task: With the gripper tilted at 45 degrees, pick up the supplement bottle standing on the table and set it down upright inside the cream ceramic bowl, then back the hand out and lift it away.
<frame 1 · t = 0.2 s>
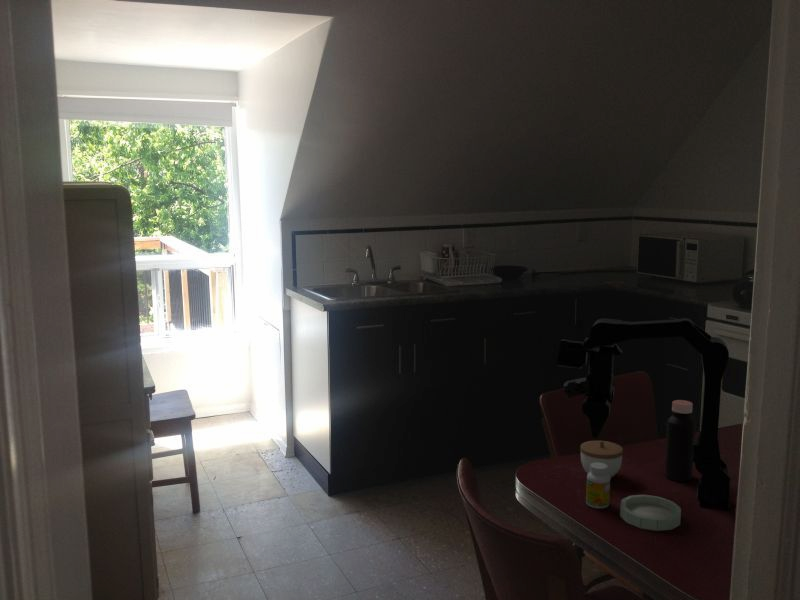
hand: (596, 431, 184), 15 cm above the table, tool pointing down, fingers open, 9 cm apart
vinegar: (678, 477, 192), on the table
bowl: (649, 517, 170), on the table
lidded jar: (600, 476, 194), on the table
supplement bottle: (597, 505, 177), on the table
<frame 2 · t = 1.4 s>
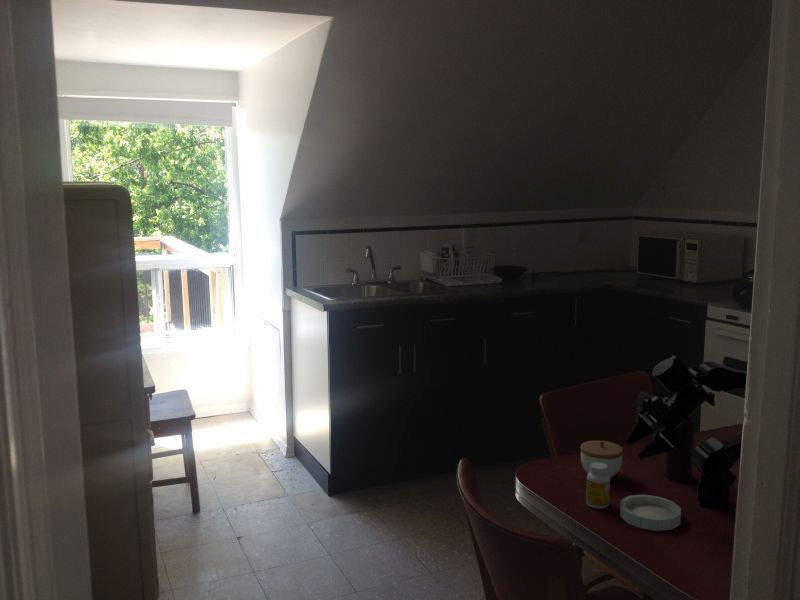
hand: (632, 450, 174), 13 cm above the table, tool tilted 45°, fingers open, 9 cm apart
nothing on the table moved.
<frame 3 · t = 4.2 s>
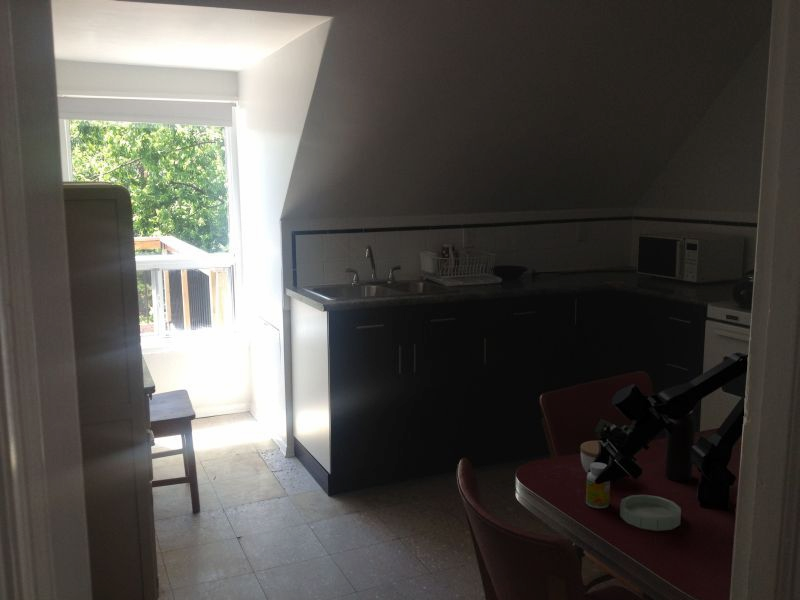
hand: (592, 477, 175), 7 cm above the table, tool tilted 45°, fingers closed on supplement bottle, 5 cm apart
supplement bottle: (597, 504, 177), on the table, touching gripper
everything else where it was.
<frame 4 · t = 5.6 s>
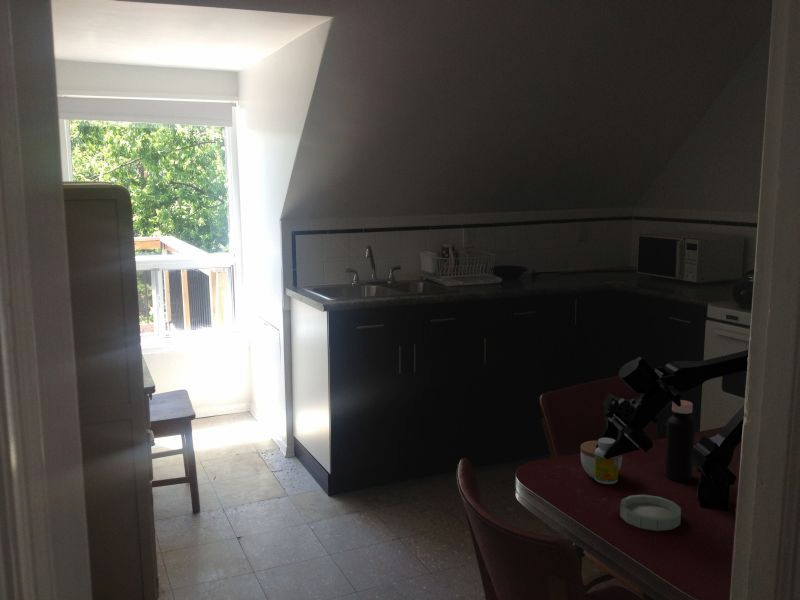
hand: (600, 453, 173), 13 cm above the table, tool tilted 45°, fingers closed on supplement bottle, 5 cm apart
supplement bottle: (605, 480, 174), point 6 cm above the table, touching gripper
everything else where it was.
when the fingers open (9 cm above the table, at t = 7.5 s): supplement bottle drops 1 cm, resting on bowl.
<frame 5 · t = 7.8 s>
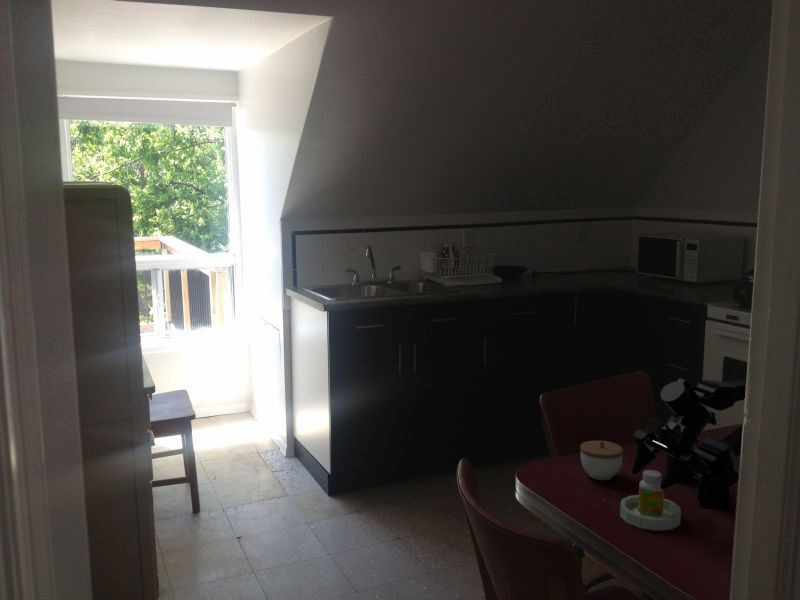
hand: (647, 480, 168), 9 cm above the table, tool tilted 45°, fingers open, 9 cm apart
supplement bottle: (650, 514, 170), point 1 cm above the table, touching bowl
everything else where it was.
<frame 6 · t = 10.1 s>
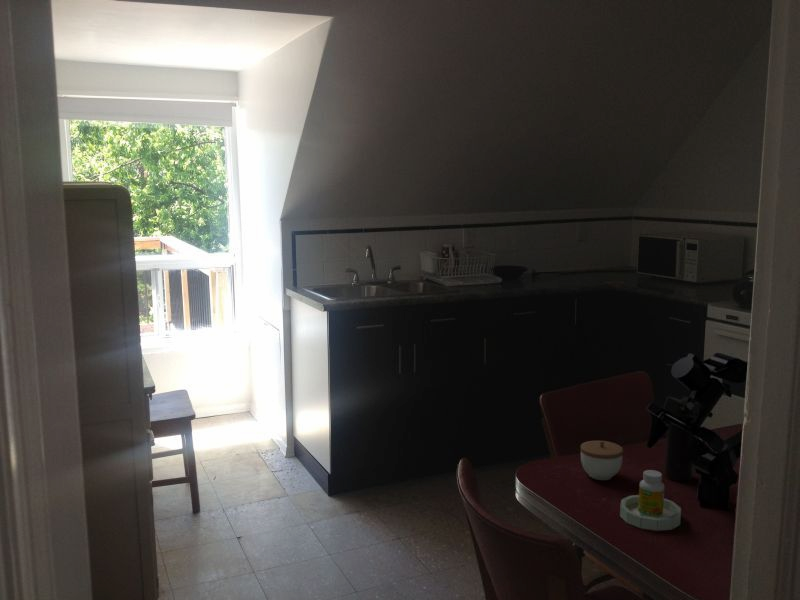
hand: (663, 456, 170), 14 cm above the table, tool tilted 40°, fingers open, 9 cm apart
nothing on the table moved.
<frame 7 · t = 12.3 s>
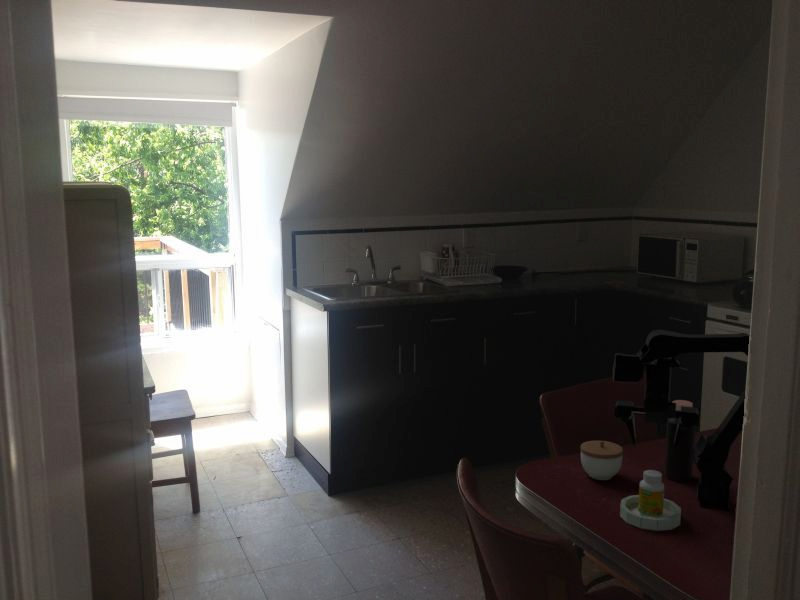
hand: (654, 446, 178), 13 cm above the table, tool pointing down, fingers open, 9 cm apart
nothing on the table moved.
at the end: supplement bottle 0.2 cm off-centre on the bowl, point 0.6 cm above the bowl's base; supplement bottle tilted 0°; the gripper is holding nothing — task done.
